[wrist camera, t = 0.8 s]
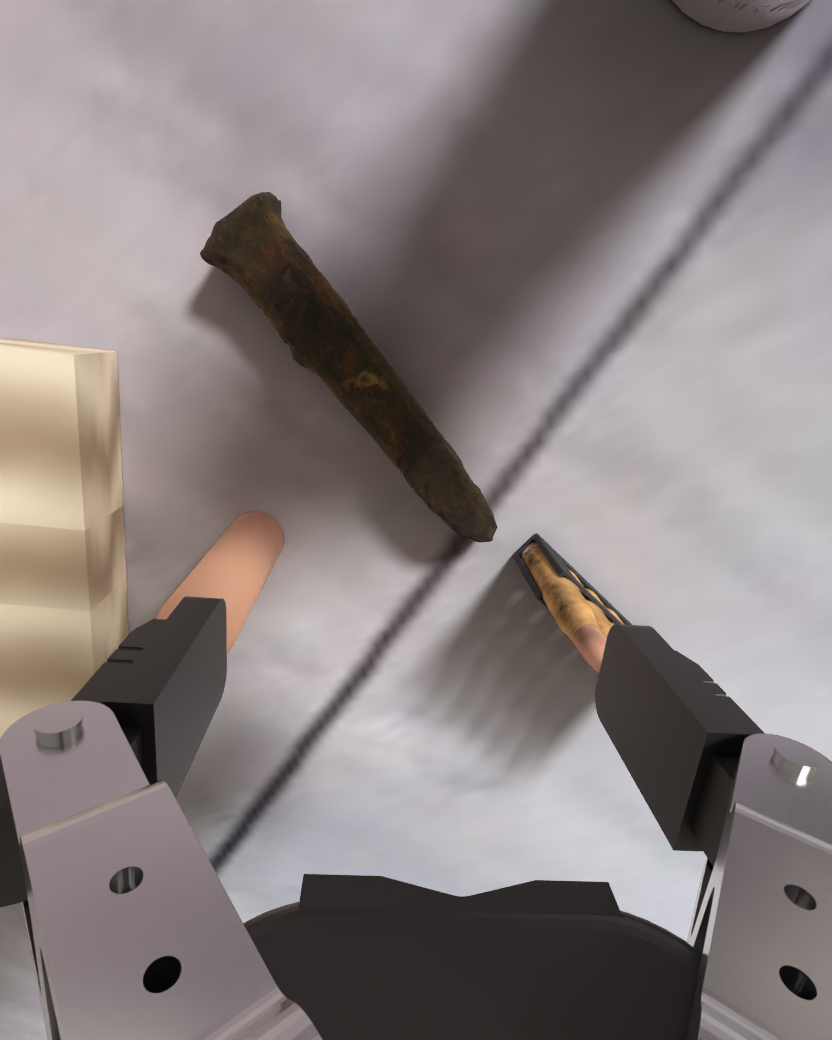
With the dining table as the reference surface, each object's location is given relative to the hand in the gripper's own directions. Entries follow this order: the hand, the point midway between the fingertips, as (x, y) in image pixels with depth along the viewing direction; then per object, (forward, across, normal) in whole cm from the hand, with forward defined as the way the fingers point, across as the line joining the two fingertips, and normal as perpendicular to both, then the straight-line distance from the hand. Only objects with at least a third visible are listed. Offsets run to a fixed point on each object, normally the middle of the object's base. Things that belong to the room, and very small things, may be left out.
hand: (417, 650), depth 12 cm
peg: (+19, +7, +5) cm, 21 cm away
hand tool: (+20, +1, -4) cm, 20 cm away
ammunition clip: (+19, -12, +7) cm, 24 cm away
